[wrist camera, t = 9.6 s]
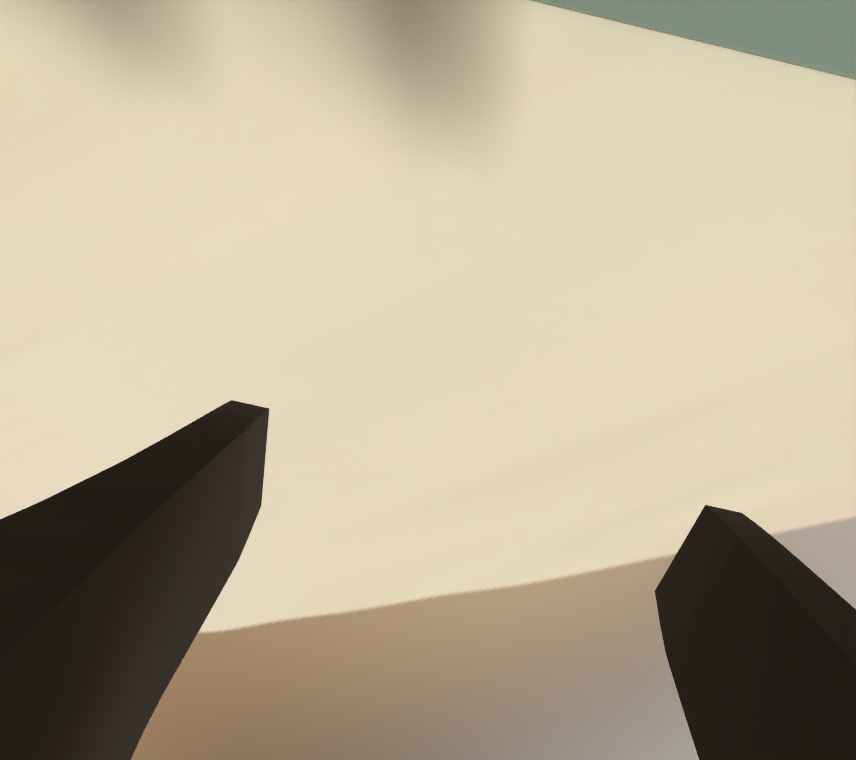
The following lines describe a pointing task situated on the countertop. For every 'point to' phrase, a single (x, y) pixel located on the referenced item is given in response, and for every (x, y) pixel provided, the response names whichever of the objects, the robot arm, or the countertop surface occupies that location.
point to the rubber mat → (746, 26)
